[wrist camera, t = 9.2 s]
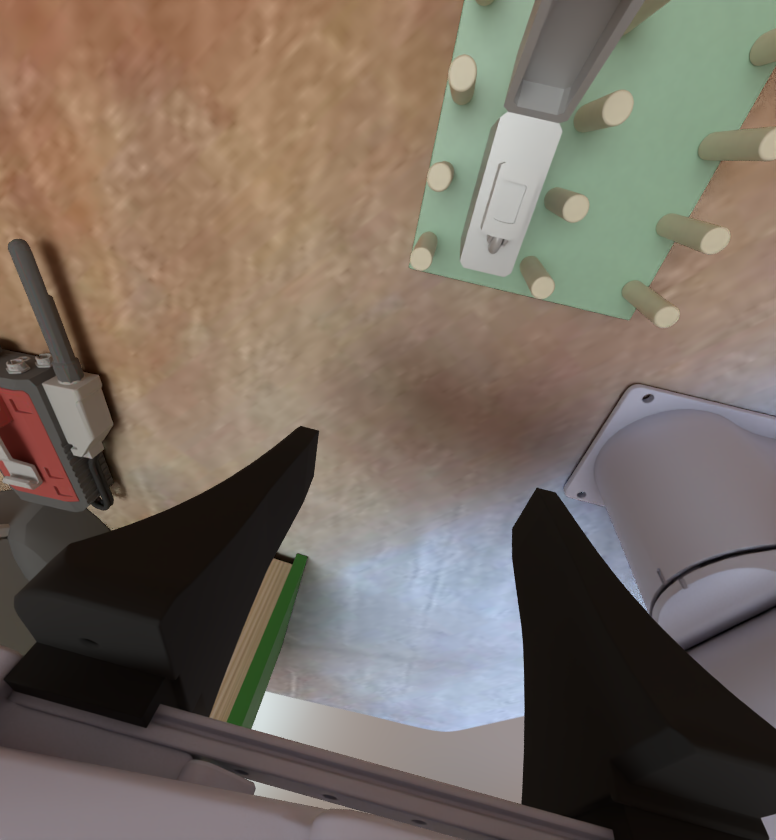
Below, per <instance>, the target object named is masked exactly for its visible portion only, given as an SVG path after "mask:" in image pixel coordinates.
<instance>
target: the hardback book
mask: <svg viewBox="0 0 776 840" xmlns="http://www.w3.org/2000/svg"><path fill="white" fill-rule="evenodd" d="M307 558H308V557H306V556H303V555H300V554H297V555H296V557H295V560H294V562H293V564H289V563H286V562H283V561H280V560H277V559H274V558H273V560H272V562H271V564H270V566H269V568H268V570H267V572H266V574H265V577H264V579H263V581H262V584H261V586H260V589H259V591H258V593H257V596H256V598H255V600H254V603H253V605H252V608H251V610H250V613H249V615H248V618H247V620H246V622H245V625H244V627H243V630H242V632H241V635H240V637H239V640H238V643H237V645H236V648H235V650H234V653H233V655H232V658H231V660H230V663H229V666H228V668H227V671H226V673H225V676H224V679H223V681H222V684H221V687H220V689H219V692H218V695H217V697H216V700H215V703H214V705H213V708H212V711H211V714H210V716H209V718H213V719H216V720H220V721H223V722H227V723H231V724H234V725H238V726H241V727H245V728H248V729H251V728H252V726H253V723H254V720H255V718H256V715H257V712H258V710H259V707H260V704H261V702H262V699H263V696H264V693H265V691H266V688H267V685H268V683H269V680H270V677H271V675H272V672H273V669H274V667H275V664H276V661H277V658H278V656H279V653H280V650H281V648H282V644H283V641H284V637H285V634H286V630H287V627H288V624H289V620H290V617H291V613H292V610H293V606H294V603H295V599H296V596H297V592H298V589H299V585H300V582H301V578H302V575H303V572H304V568H305V565H306V561H307Z"/></svg>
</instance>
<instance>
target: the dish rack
mask: <svg viewBox="0 0 776 840" xmlns="http://www.w3.org/2000/svg"><path fill="white" fill-rule="evenodd" d="M534 2H535V0H464V4H463V9H462V14H461V18H460V23H459V28H458V33H457V38H456V42H455V47H454V52H453V57H452V62H451V65H450V67H449V71H448V81H447V86H446V90H445V95H444V100H443V105H442V110H441V114H440V119H439V124H438V129H437V134H436V138H435V143H434V148H433V153H432V158H431V163H430V167H429V170H428V173H427V182H426V187H425V191H424V196H423V201H422V206H421V211H420V215H419V220H418V225H417V230H416V235H415V239H414V244H413V249H412V253H411V255H410V263H409V268H410V269H415V270H418V271H423V272H427V273H431V274H436V275H440V276H444V277H448V278H452V279H457V280H461V281H465V282H469V283H473V284H478V285H482V286H486V287H490V288H495V289H499V290H503V291H507V292H511V293H516V294H520V295H524V296H528V297H532V298H537V299H541V300H545V301H549V302H553V303H558V304H562V305H566V306H570V307H575V308H579V309H583V310H587V311H591V312H596V313H600V314H604V315H608V316H612V317H617V318H621V319H625V320H630V318H631V317H632V315H633V313H634V312H635V310H636V309H637V310H638V311H640V312H641V313H642V314H643V315H644V316H645V317H646V318H648V319H649V320H650V321H651V322H652V323H653V324H654V325H656V326H657V327H659V328H667V327H670V326H672V325H674V324H675V323H676V322H677V321H678V319H679V316H680V311H679V309H678V308H677V307H675V306H674V305H673V304H671V303H670V302H668V301H667V300H666V299H664V298H663V297H661V296H660V295H659V294H657V293H656V292H654V291H653V290H651V289H650V288H649V285H650V284H651V282H652V280H653V278H654V277H655V275H656V273H657V271H658V270H659V268H660V266H661V265H662V263H663V261H664V259H665V258H666V256H667V254H668V252H669V251H670V249H671V247H672V245H673V244H674V242H677V243H679V244H682V245H684V246H687V247H689V248H692V249H694V250H697V251H699V252H702V253H704V254H708V255H711V254H715V253H718V252H720V251H721V250H723V249H724V248H725V247H726V246H727V244H728V243H729V241H730V236H731V235H730V231H729V230H728V229H727V228H725V227H722V226H718V225H715V224H711V223H707V222H704V221H700V220H696V219H692V218H689V216H690V214H691V212H692V211H693V209H694V207H695V205H696V204H697V202H698V200H699V198H700V197H701V195H702V193H703V191H704V190H705V188H706V186H707V184H708V183H709V181H710V179H711V177H712V176H713V174H714V172H715V171H716V169H717V167H718V165H719V164H720V162H721V161H772V160H775V159H776V126H772V127H762V128H752V129H742V130H739V129H740V127H741V125H742V124H743V122H744V120H745V118H746V117H747V115H748V113H749V111H750V110H751V108H752V106H753V104H754V103H755V101H756V99H757V97H758V96H759V94H760V92H761V90H762V89H763V87H764V85H765V83H766V82H767V80H768V78H769V77H770V75H771V73H772V71H773V70H774V68H775V66H776V0H645V1H644V3H643V4H642V6H641V8H640V9H639V11H638V12H637V14H636V15H635V17H634V18H633V20H632V22H631V23H630V25H629V26H628V28H627V29H626V31H625V32H624V34H623V36H622V37H621V39H620V40H619V42H618V43H617V45H616V46H615V48H614V49H613V51H612V53H611V54H610V56H609V57H608V59H607V60H606V62H605V63H604V65H603V67H602V68H601V70H600V71H599V73H598V74H597V76H596V77H595V79H594V81H593V82H592V84H591V85H590V87H589V88H588V90H587V91H586V93H585V94H584V96H583V98H582V99H581V101H580V102H579V104H578V105H577V107H576V108H575V110H574V112H573V113H572V115H571V116H570V118H569V119H568V121H565V122H561V123H559V124H560V126H561V129H562V134H561V137H560V140H559V143H558V145H557V148H556V151H555V154H554V156H553V159H552V162H551V165H550V168H549V170H548V173H547V176H546V179H545V181H544V184H543V187H542V190H541V192H540V195H539V198H538V201H537V203H536V206H535V209H534V212H533V214H532V217H531V220H530V223H529V226H528V228H527V231H526V234H525V237H524V239H523V242H522V245H521V248H520V250H519V253H518V256H517V259H516V261H515V264H514V267H513V270H512V272H511V274H509V275H507V276H506V277H501V276H497V275H493V274H488V273H484V272H480V271H476V270H472V269H467V268H463V266H462V264H461V262H460V242H461V236H462V232H463V228H464V225H465V221H466V217H467V214H468V210H469V206H470V203H471V199H472V195H473V192H474V188H475V184H476V181H477V177H478V173H479V170H480V166H481V162H482V159H483V155H484V152H485V148H486V144H487V141H488V137H489V133H490V130H491V127H492V126H493V125H494V124H495V123H496V121H497V120H498V119H499V118H500V117H501V116H503V115H504V114H505V113H507V112H508V111H507V110H506V108H505V107H504V103H505V99H506V95H507V91H508V87H509V84H510V80H511V76H512V72H513V68H514V64H515V61H516V57H517V53H518V50H519V47H520V44H521V41H522V38H523V35H524V32H525V29H526V26H527V23H528V20H529V17H530V14H531V11H532V8H533V5H534Z"/></svg>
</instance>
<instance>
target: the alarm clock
mask: <svg viewBox="0 0 776 840" xmlns="http://www.w3.org/2000/svg"><path fill="white" fill-rule="evenodd" d="M109 531H110V530H109V529H108V528H107V527H106V526H105V525H104V524H103V523H102V522H101V521H100V520H99V519H98V518H97V517H96V516H94V515H93V514H92V513H91V512H90V511H88V510H87V509H85V510H83V511H79V512H72V511H67V510H63V509H59V508H54V507H50V506H46V505H41V504H37V503H33V502H28V501H24V500H22V499H20V497H19V496H18V495H17V494H16V493H15V492H14V491H13V490H8V491H0V645H1V646H5V647H8V648H10V649H13V650H15V651H17V652H19V653H21V654H22V655H23V656H24V655H25V654H26V653H27V652H28V651H29V650H30V649H31V648H32V646H33V645H34V644H35V643H36V640H35V639H34V637H33V636H32V635H31V633H30V632H29V630H28V629H27V628H26V626H25V625H24V623H23V622H22V621H21V619H20V618H19V616H18V615H17V613H16V611H15V609H14V596H15V595H16V594H17V593H18V592H19V591H20V590H21V589H22V588H23V587H24V586H25V585H26V584H27V583H28V582H29V581H30V580H31V579H32V578H34V577H35V576H36V575H37V574H38V573H39V572H40V571H41V570H42V569H43V568H44V567H45V566H46V565H47V564H48V563H49V562H50V561H51V560H52V559H53V558H54V557H55V556H56V555H57V554H58V553H59V552H61V551H62V550H63V549H64V548H65V547H66V546H67V545H69V544H70V543H73V542H77V541H80V540H84V539H87V538H90V537H93V536H96V535H100V534H103V533H106V532H109Z"/></svg>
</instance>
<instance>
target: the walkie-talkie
mask: <svg viewBox="0 0 776 840" xmlns="http://www.w3.org/2000/svg"><path fill="white" fill-rule="evenodd" d="M8 250H9V252H10V255H11V257H12V260H13V262H14V264H15V267H16V269H17V272H18V274H19V277H20V279H21V282H22V284H23V287H24V289H25V291H26V294H27V296H28V299H29V301H30V304H31V306H32V309H33V311H34V313H35V316H36V318H37V321H38V323H39V326H40V328H41V331H42V333H43V335H44V338H45V340H46V343H47V345H48V348H49V350H50V353H51V354H49V353H44V354H39V356H40V357H38V356H33V355H28V354H23V353H18V352H13V351H9V350H4V349H2V348H1V346H0V471H1V473H2V474H3V476H4V478H3V483H6V484H9V486H10V487H11V488H12V489H13V491H14V492H15V493H16V494H17V495H18V496H19V497H20V499H22V500H24V501H28V502H33V503H37V504H41V505H46V506H50V507H54V508H59V509H63V510H67V511H72V512H79V511H83V510H85V509H86V508H87V507H88V506H89V505H90V504H91V505H92V506H94V507H95V508H97V509H100V510H107V509H109V507H110V506H111V505H113V501H114V499H113V496H112V493H111V491H110V488H109V487H110V486H111V485H112V484H113V483H114V482H113V479H112V477H111V474H110V472H109V469H108V466H107V464H106V461H105V459H104V456H103V453H102V451H103V450H104V447H103V444H102V441H103V440H104V439H105V437H106V435H107V434H108V432H109V431H110V429H111V428H112V426H113V421H112V419H111V416H110V413H109V410H108V407H107V404H106V401H105V398H104V395H103V392H102V389H101V387H102V383H101V380H100V377H99V375H95V374H91V373H86V372H83V370H82V367H81V364H80V362H79V359H78V358H76V357H75V356H74V353H73V350H72V348H71V345H70V342H69V340H68V337H67V334H66V332H65V329H64V326H63V324H62V321H61V318H60V316H59V313H58V310H57V308H56V305H55V302H54V300H53V297H52V296H50V295H48V293H47V290H46V287H45V285H44V282H43V280H42V277H41V274H40V272H39V269H38V266H37V264H36V261H35V259H34V256H33V253H32V251H31V249H30V247H29V245H28V243H27V242H26V241H25V240H22V239H14V240H12V241H11V242H10V243H9V244H8ZM100 495H101V497H102V499H101V498H100V497H99V496H100Z"/></svg>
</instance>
